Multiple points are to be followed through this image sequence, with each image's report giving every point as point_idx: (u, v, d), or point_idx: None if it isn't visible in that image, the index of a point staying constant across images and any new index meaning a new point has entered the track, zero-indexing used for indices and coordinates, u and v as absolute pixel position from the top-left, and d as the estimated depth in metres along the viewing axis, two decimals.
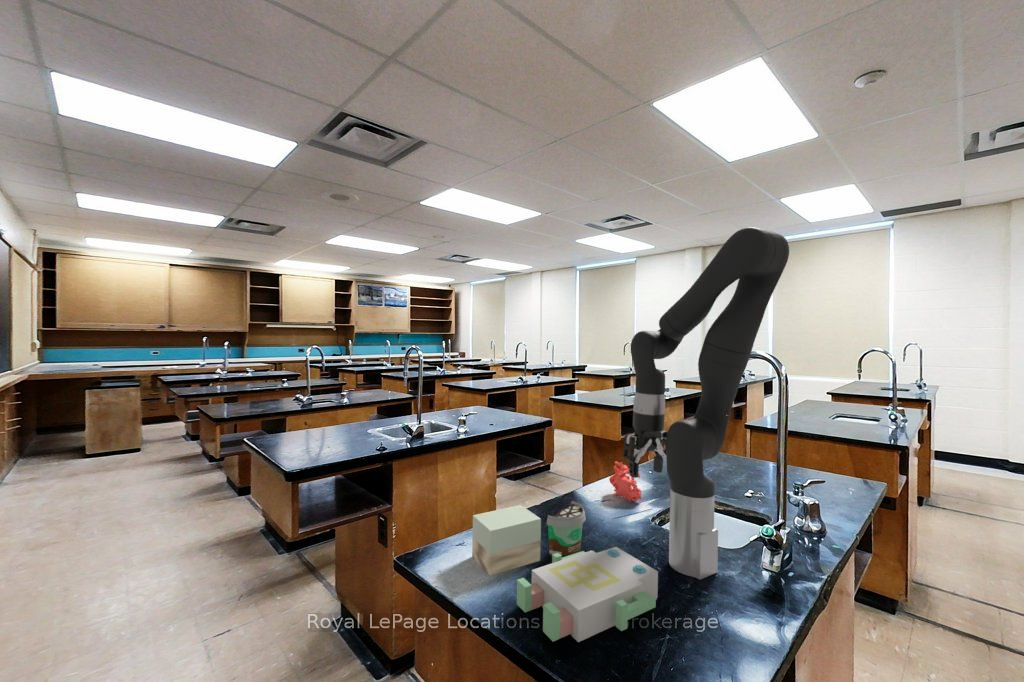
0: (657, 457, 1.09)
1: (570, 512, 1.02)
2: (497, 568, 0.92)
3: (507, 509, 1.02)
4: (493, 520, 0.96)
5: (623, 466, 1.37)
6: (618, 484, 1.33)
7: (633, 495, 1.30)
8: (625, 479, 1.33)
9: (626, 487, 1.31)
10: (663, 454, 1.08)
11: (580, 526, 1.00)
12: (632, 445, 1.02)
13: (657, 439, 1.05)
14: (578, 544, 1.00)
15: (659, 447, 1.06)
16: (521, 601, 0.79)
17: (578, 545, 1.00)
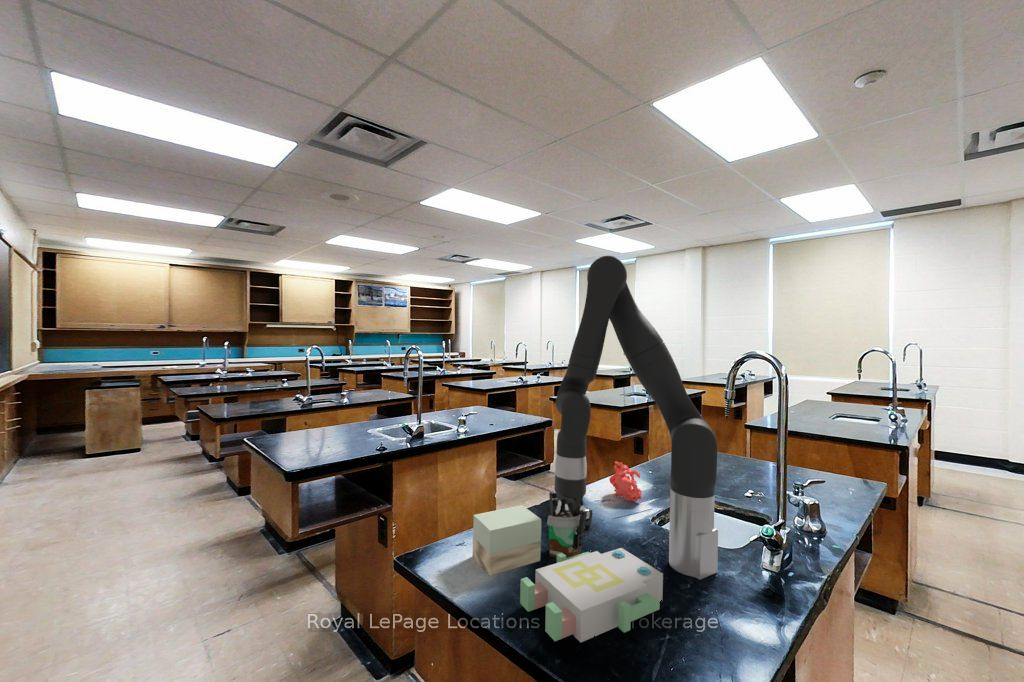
0: None
1: None
2: (497, 568, 0.92)
3: (508, 509, 1.02)
4: (494, 519, 0.96)
5: (623, 466, 1.37)
6: (618, 484, 1.33)
7: (633, 495, 1.30)
8: (625, 479, 1.33)
9: (626, 487, 1.31)
10: None
11: None
12: None
13: None
14: None
15: None
16: (524, 600, 0.79)
17: None
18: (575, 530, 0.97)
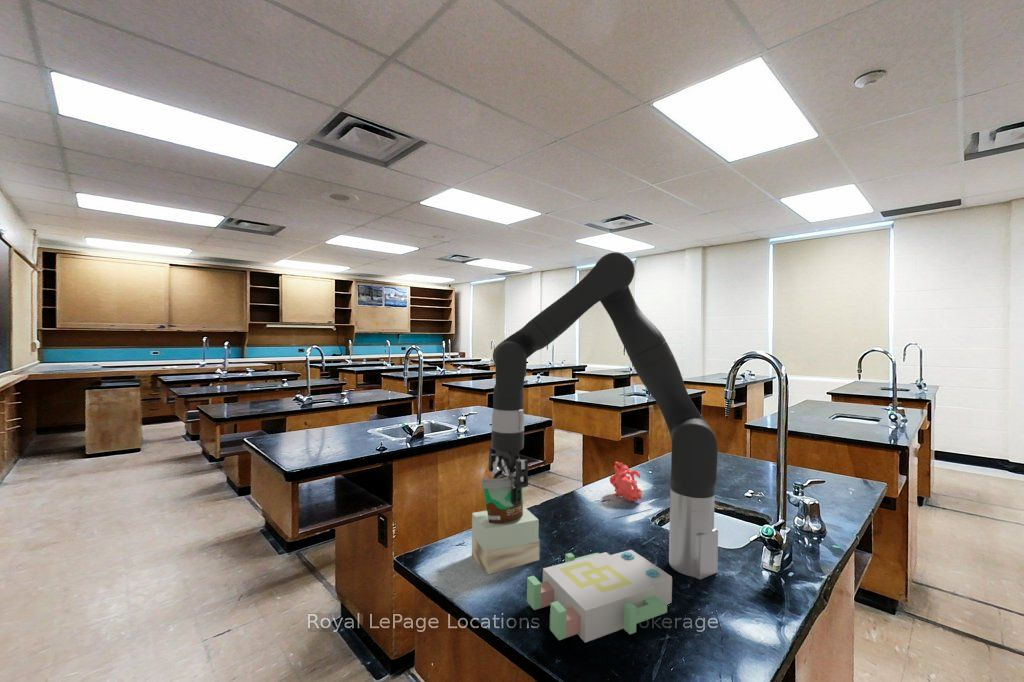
0: None
1: None
2: (496, 567, 0.92)
3: None
4: None
5: (623, 466, 1.37)
6: (618, 484, 1.33)
7: (633, 495, 1.30)
8: (625, 479, 1.33)
9: (626, 487, 1.31)
10: None
11: None
12: None
13: None
14: (518, 507, 0.95)
15: None
16: (531, 599, 0.79)
17: (518, 508, 0.95)
18: (513, 483, 0.93)
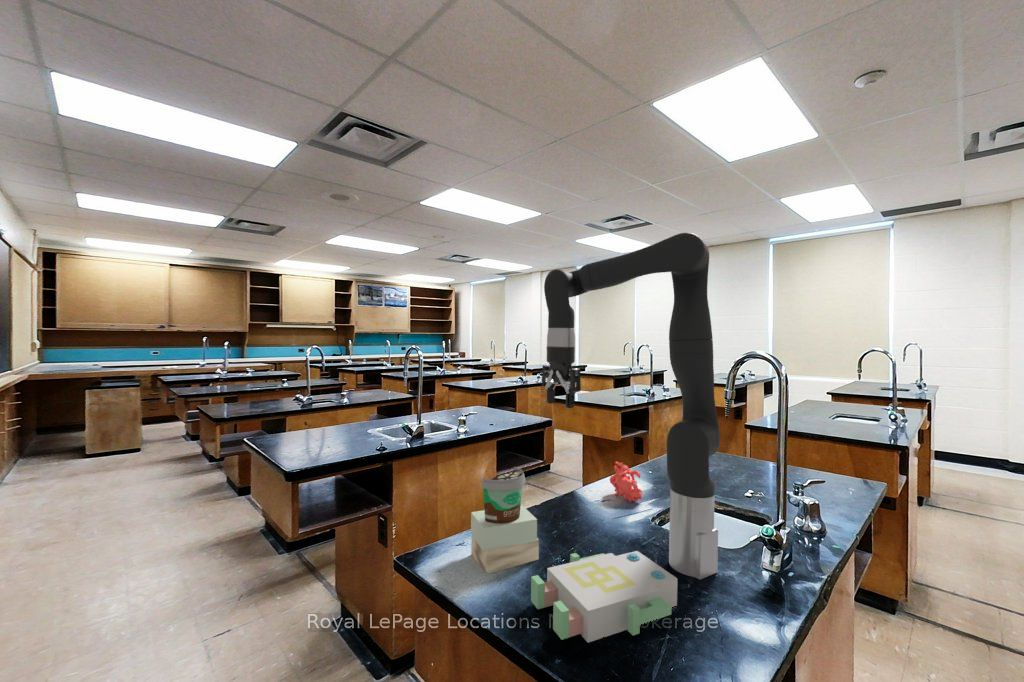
0: (551, 389, 1.17)
1: (508, 477, 0.98)
2: (495, 567, 0.92)
3: None
4: None
5: (623, 466, 1.37)
6: (618, 484, 1.33)
7: (633, 495, 1.30)
8: (625, 479, 1.33)
9: (626, 487, 1.31)
10: None
11: (517, 490, 0.96)
12: None
13: None
14: (515, 509, 0.96)
15: None
16: (534, 598, 0.80)
17: (515, 510, 0.96)
18: (567, 389, 1.09)
